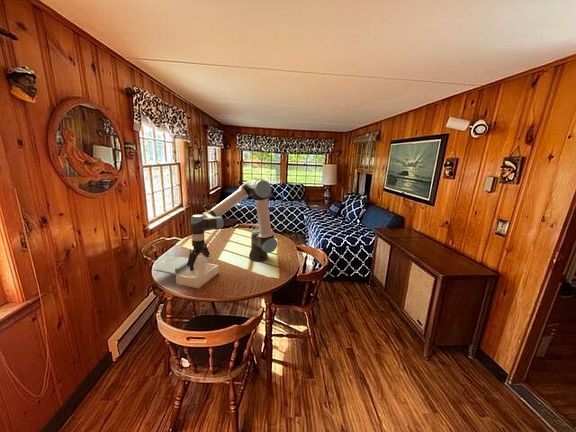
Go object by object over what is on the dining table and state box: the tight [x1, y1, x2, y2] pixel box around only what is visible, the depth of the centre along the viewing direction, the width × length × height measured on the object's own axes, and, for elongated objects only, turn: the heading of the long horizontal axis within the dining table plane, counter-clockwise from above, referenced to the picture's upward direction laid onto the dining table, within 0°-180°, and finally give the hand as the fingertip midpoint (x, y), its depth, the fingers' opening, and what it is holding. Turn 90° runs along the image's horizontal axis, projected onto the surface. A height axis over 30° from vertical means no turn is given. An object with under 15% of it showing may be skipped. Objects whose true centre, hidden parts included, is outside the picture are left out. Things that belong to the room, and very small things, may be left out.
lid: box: [155, 256, 190, 276], centre depth 159 cm, size 16×22×4 cm
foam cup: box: [194, 255, 207, 279], centre depth 155 cm, size 10×9×13 cm
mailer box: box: [175, 263, 220, 289], centre depth 156 cm, size 16×22×6 cm
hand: (199, 270), depth 155 cm, fingers open, 13 cm apart
